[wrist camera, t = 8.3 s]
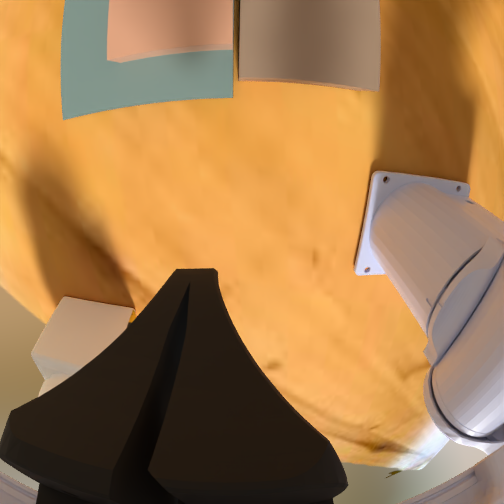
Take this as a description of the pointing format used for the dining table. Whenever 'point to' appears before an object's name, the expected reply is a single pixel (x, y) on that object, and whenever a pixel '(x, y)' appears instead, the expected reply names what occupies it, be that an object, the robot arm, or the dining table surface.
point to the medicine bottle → (77, 337)
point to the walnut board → (311, 42)
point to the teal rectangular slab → (130, 68)
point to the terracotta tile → (167, 27)
